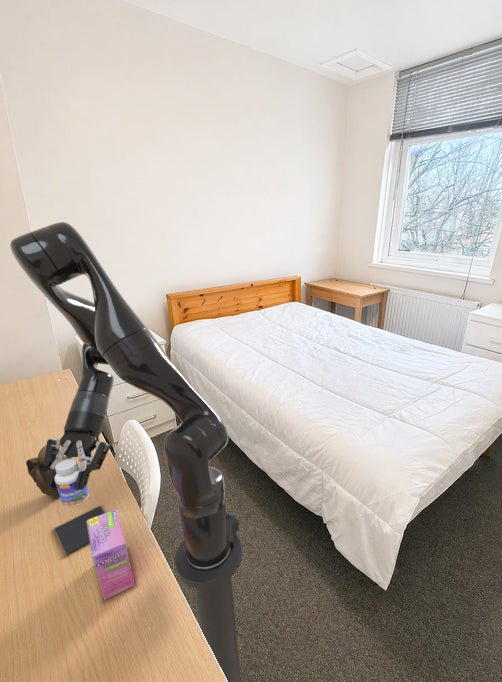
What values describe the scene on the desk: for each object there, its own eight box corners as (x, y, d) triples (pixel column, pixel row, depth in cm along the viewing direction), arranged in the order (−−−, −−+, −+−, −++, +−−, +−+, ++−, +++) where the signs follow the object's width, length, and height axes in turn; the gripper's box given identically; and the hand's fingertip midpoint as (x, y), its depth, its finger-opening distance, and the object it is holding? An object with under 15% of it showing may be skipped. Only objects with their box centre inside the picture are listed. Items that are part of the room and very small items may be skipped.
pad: (100, 507, 90) (99, 505, 90) (115, 529, 83) (114, 527, 83) (55, 529, 83) (54, 528, 83) (67, 555, 77) (66, 554, 77)
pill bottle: (62, 511, 76) (50, 476, 73) (61, 496, 81) (50, 462, 77) (90, 501, 79) (80, 466, 75) (88, 487, 83) (79, 453, 80)
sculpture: (83, 461, 101) (69, 436, 90) (81, 497, 95) (66, 475, 84) (39, 468, 98) (19, 443, 86) (34, 507, 92) (12, 485, 80)
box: (136, 585, 71) (125, 542, 66) (104, 601, 68) (91, 557, 63) (126, 548, 78) (116, 508, 74) (98, 561, 76) (85, 519, 71)
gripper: (47, 407, 80) (21, 485, 73) (108, 410, 79) (86, 489, 73) (69, 416, 87) (46, 487, 80) (125, 418, 86) (106, 491, 79)
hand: (65, 488), depth 76 cm, fingers closed on pill bottle, 5 cm apart
